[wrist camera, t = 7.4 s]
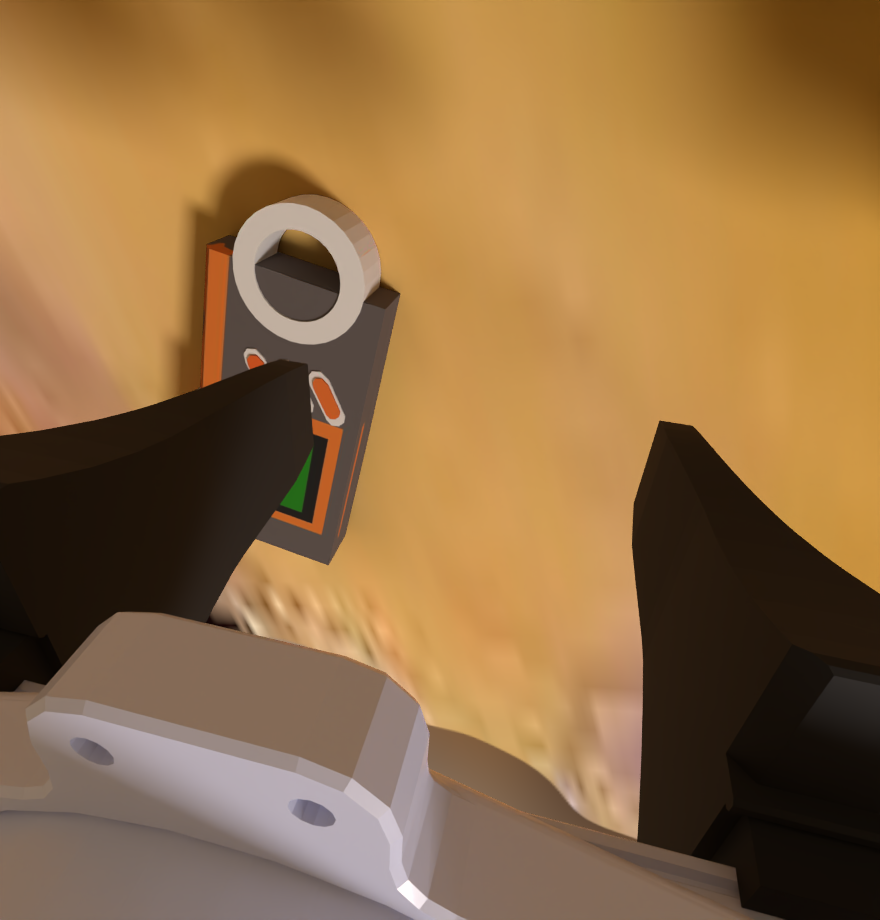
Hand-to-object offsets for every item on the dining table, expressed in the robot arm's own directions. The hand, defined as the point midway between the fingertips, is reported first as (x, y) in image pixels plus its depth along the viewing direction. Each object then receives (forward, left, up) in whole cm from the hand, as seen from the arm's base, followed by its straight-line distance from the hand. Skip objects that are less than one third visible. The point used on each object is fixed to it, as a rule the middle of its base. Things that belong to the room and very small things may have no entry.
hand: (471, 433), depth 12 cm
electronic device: (+9, +5, -10) cm, 15 cm away
